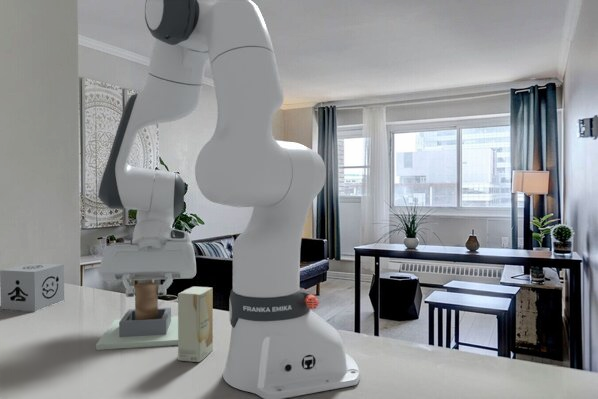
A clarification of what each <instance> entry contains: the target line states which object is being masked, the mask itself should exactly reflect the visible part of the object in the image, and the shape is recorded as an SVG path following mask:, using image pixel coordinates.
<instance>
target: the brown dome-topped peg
mask: <svg viewBox="0 0 598 399" xmlns="http://www.w3.org/2000/svg"><path fill="white" fill-rule="evenodd" d="M158 287H159V284H158V283H157V282H150V281H149V282H147V281H146V282H140V283H137V284H135V285H134V289H135V293H134V305H135V306H134V309H135V320H147V319H158V308H159V304H158V303H159V302H158V301H159V300H158V299H159V298H158V297H159V294H158V289H159V288H158Z"/></svg>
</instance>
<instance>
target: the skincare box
mask: <svg viewBox="0 0 598 399" xmlns="http://www.w3.org/2000/svg"><path fill="white" fill-rule="evenodd" d="M213 291H214V290H213V287H209V286H191V287H189V288H186V289H184V290H183V291H181V292H179V293H178V294H177V316H178V345H177V359H178V361H181V362H182V361H183V362H191V363H192V362H195V363H196V362H197V363H200V362H202V361H203V360H204V359H205V358H207V357H208V355H209V354H211V353H212V352H213V349H214V348H213V346H214V343H213V342H214V340H213V339H214V338H213V337H214V336H213V334H214V333H213V332H214V331H213V330H214V328H213V322H214V321H213V320H214V319H213V316H214V315H213V314H214V313H213V309H214V308H213V301H214V300H213V297H214V296H213Z"/></svg>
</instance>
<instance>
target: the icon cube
mask: <svg viewBox="0 0 598 399" xmlns="http://www.w3.org/2000/svg"><path fill="white" fill-rule="evenodd" d="M63 300H64V301H65V264H63V263H61V264H59V263H57V264H56V263H37V262H36V263H34V262H33V263H26V264H22V265H21V264H20V265H17V266H14V267H9V268H4V269H0V309H1V308H2V309H10V310H9V311H13V310H22V311H21V312H28V311H37V310H39V309H42V308H44V307H47V306H50V305H52V304H55V303H58V302H60V301H63ZM58 304H59V303H58ZM50 307H51V306H50ZM42 310H43V309H42ZM39 311H40V310H39ZM37 312H38V311H37Z"/></svg>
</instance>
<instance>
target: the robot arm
mask: <svg viewBox="0 0 598 399" xmlns="http://www.w3.org/2000/svg"><path fill="white" fill-rule="evenodd" d="M144 20H145V24H146V27H147V28H148V31H149V32H150V34H151V35H152V37H154V38H155V40H154V44H153V47H152V50H151V55H150V59H149V60H150V61H149V66H148V67H149V68H148V71H147V72H148V74H147V77H146V81H145V83H144V85H143V87H142V89H140V91H139V92H138V93H135V94H134V93H133V94H131V96H129V98H128V100H127V101H126V103H125V105H124V109H123V111H122V115H121V118H120V120H119V123H118V127H117V130H116V132H115V137H114V140H113V143H112V146H111V148H110V152H109V155H108V159H107V162H106V164H105V167H104V169H103V170H102V172H101V175H100V176H99V180H98V183H97V195H98V196H97V197H98V198H99V200H100V202H102V203H103V204H104V205H105V206H106V207H107V208H109V209H111V210H112V209H113V210H127V209H128V210H134V211H136V216H135V217H136V224H135V226H134V228H133V233H132V240H131V241H127V242H126V241H125V242H111V243H110V244H107V245H106V246H104V248H103V249H102V253H101V257H102V259H101V261H100V264H99V266H98V274H99V276H100V278H101V279H102V281H104V282H122V283H123V286H124V287H125V296H126V297H127V298H131V297H132V298H133V297H134V298H135V285H131V282H132V281H151V280H165V281H164V282H163V284H158V297H159V296H161V297H162V296H167V289H169V287H170V286H171V285H172V283H173V282H174V281H173V280H177V279H178V280H180V279H193V278H194V277H195V276H196V274H197V261H196V254H195V249H194V246H193V244H192V243H193V242H192V238H191V235H190V233H189V232H188V231H184V230H179V229H176V228H173V225H174V223H175V219H176V218H178V216H179V215H181V213H182V212H183V209H184V205H185V192H186V183H185V181H184V180H183V178H182V177H181V176H180V175H179V174H178V173H177V172H173V171H168V170H162V169H154V168H145V167H138V166H133V165H130V164H129V163H128V161H129V158H130V156H131V152H132V149H133V146H134V144H135V141H136V137H137V135H138V133H139V132H141V130H142V129H145V128H147V127H150V126H154V125H158V124H164V123H171V122H175V121H178V120H182V119H183V118H185V117H187V116H189V115H190V114H192V113H193V111H195V110H196V108H197V107H198V104H199V102H200V97H201V94H202V90H203V82H204V77H205V67H206V63H207V61H208V59H209V63H210V64H209V65H210V69H211V73H212V79H213V86H214V91H215V97H216V104H217V118H216V119H217V120H216V125H215V130H214V132H213V134H212V137H211V138H210V139H209V140H208V141H207V142H206V143H205V144H204V145H203V147H202V148H201V149H200V151H199V153H198V155H197V158H196V161H195V167H194V175H195V176H194V177H195V181H196V184H197V187H198V189H199V190H200V193H201V194H202V196H204V198H205V199H207V200H208V201H210V202H212V203H215V204H219V205H222V206H229V207H232V208H238V209H239V208H252V207H253V209H252V213H251V217H250V219H249V221H248V224H247V226H246V227H245V229H243V231H242V232H241V233H240V234H239V235H238V236H237V237H236V239H235V240H234V243H233V245H232V289H231V290H230V294H229V301H228V302H229V303H228V304H229V312H228V313H229V322H230V326H231V331H230V332H231V333H230V341H229V348H228V353H227V358H226V361H225V366H224V370H223V372H222V377H223V380H224V381H225V382H226V384H228V385H229V386H231V387H233V388H235V389H238V390H240V391H244V392H249V393H252V394H256V395H257V396H259V397H261V398H262V399H287V398H294V397H299V396H303V395H309V394H314V393H319V392H325V391H329V390H336V389H342V388H347V387H351V386H356V385H357V384H358V383H359V381H360V379H361V378H360V377H361V376H360V375H361V374H360V367H359V366H358V364H357V362H356V361H355V360H354V358H353V357H351V355H349V354H348V353H347V352H346V349H345V345H344V342H343V339H342V337H341V335H340V333H339V332H338V330H337V329H336V328H334V326H332V325H331V324H329V322H327V321H326V320H325V319H324V318H322V317H321V316H319V315H318V314H317V313H315V311H313V310H316V309H317V308H318V307H319V304H320V302H319V299H318V298H317V297H316V296H315V295H314V294H311V293H310V292H309V291H308V290H306V289H305V288H304V287H300V275H301V274H300V272H301V271H300V270H301V268H300V267H301V266H300V265H301V246H302V237H303V234H304V229H305V226H306V225H305V224H306V222H307V218H308V215H309V213H310V209H311V207H312V204H313V202H314V200H315V198H316V197H317V196H318V195H319V193H320V192H321V191H322V189H323V188H324V186H325V182H326V179H327V178H326V177H327V170H326V165H325V162H324V160H323V158H322V156H321V155H320V154H319V153H318V152H316V151H315V150H314V149H311V148H309V147H307V146H305V145H303V144H302V143H298V142H293V141H288V140H287V141H286V140H285V141H284V140H279V139H278V140H277V139H275V137H274V135H273V116H274V115H275V114H276V113H277V112H279V110H280V108H281V107H282V105H283V103H284V96H285V94H284V91H283V86H282V82H281V78H280V77H281V76H280V73H279V68H278V62H277V59H276V54H275V50H274V45H273V43H272V38H271V35H270V33H269V30H268V27H267V25H266V22H265V20H264V17H263V15H262V13H261V11H260V9H259V7H258V5H256V3H254V2H253V1H252V0H145V7H144Z"/></svg>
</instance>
